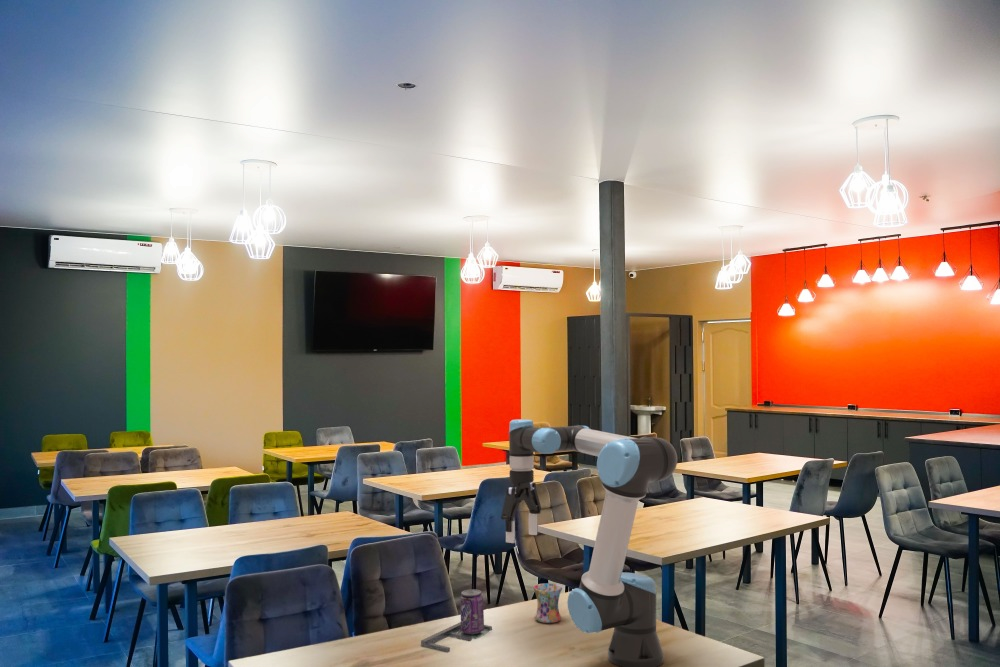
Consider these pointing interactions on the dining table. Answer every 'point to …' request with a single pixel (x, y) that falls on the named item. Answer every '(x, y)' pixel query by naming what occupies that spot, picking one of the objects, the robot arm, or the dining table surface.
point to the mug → (547, 602)
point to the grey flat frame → (451, 633)
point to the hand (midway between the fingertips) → (521, 538)
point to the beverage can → (472, 611)
